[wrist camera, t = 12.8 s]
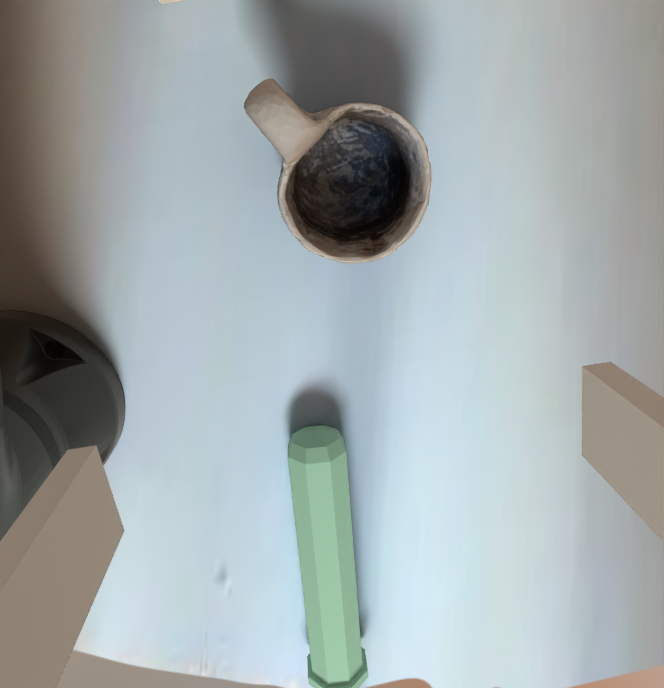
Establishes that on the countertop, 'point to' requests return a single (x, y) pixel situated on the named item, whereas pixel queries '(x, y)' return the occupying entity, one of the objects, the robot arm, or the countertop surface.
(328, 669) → the green octagonal rod
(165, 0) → the tray
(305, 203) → the mug
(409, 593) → the countertop surface
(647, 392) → the robot arm
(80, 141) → the countertop surface
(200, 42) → the countertop surface
